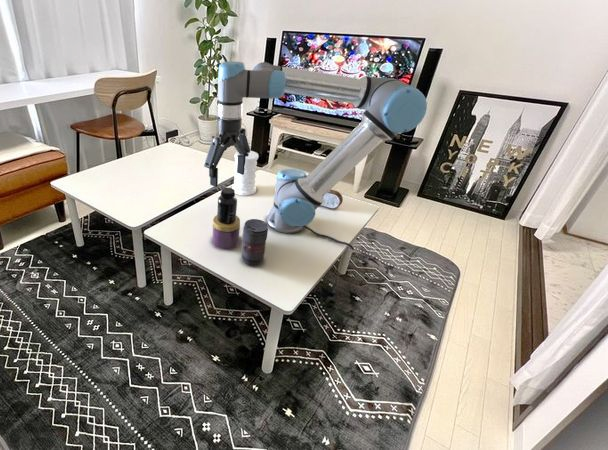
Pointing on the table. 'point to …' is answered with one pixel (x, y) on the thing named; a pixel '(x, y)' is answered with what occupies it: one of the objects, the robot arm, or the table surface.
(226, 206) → the supplement bottle
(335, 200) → the tin
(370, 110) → the robot arm
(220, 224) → the jar lid
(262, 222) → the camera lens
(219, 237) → the jar
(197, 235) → the table surface
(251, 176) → the decorative container
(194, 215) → the table surface
